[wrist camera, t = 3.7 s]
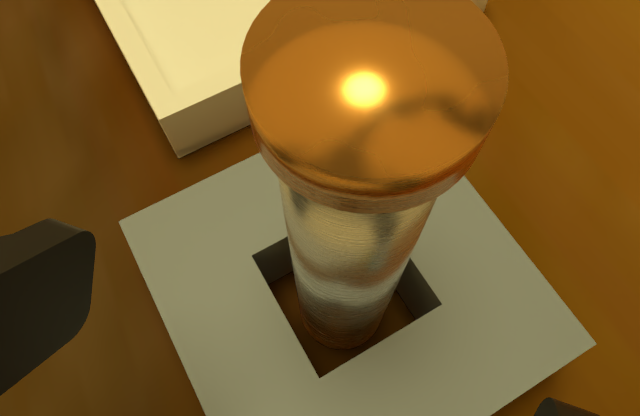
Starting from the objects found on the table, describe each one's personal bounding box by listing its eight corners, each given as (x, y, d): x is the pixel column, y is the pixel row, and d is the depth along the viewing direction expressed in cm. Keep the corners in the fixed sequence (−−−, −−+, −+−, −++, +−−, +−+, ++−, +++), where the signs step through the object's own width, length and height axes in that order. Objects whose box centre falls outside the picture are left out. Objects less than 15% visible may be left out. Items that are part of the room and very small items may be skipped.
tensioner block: (383, 139, 25) (394, 87, 21) (548, 361, 21) (596, 343, 17) (151, 257, 23) (118, 221, 19) (282, 539, 18) (272, 562, 14)
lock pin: (356, 245, 23) (409, -67, 9) (408, 325, 21) (566, 99, 7) (276, 290, 22) (196, 23, 8) (323, 376, 20) (324, 228, 7)
